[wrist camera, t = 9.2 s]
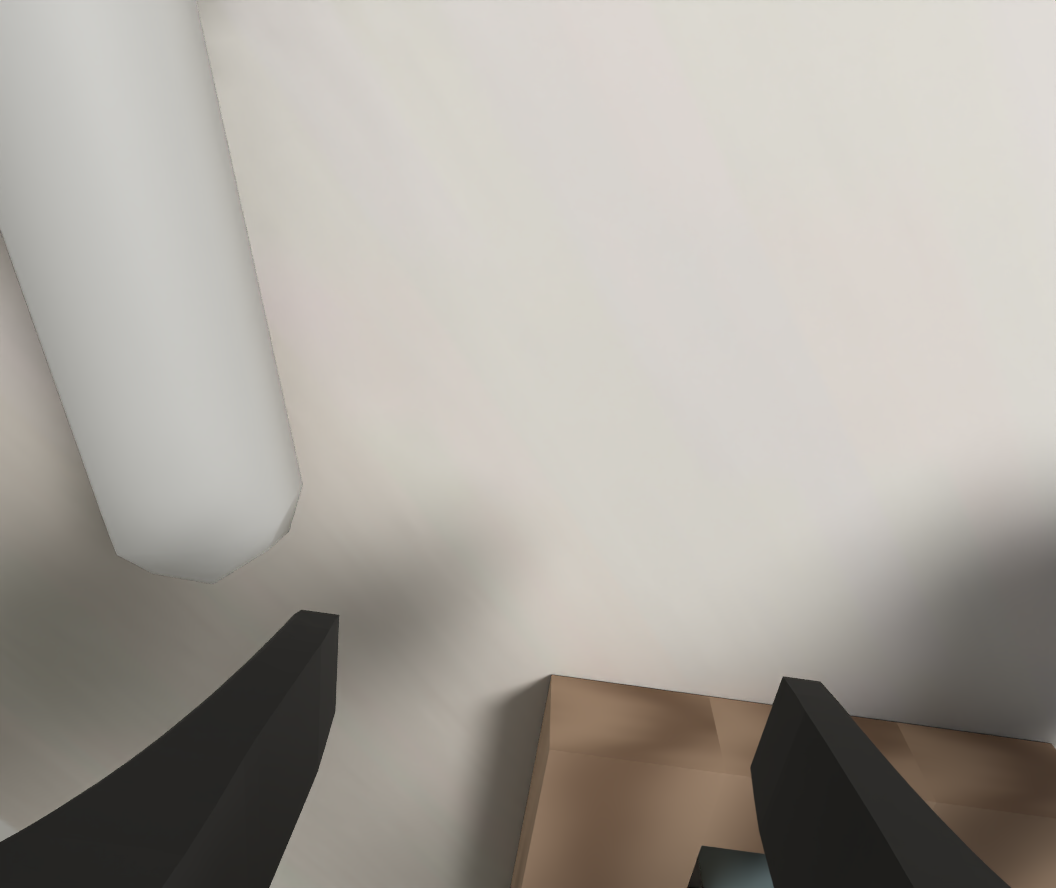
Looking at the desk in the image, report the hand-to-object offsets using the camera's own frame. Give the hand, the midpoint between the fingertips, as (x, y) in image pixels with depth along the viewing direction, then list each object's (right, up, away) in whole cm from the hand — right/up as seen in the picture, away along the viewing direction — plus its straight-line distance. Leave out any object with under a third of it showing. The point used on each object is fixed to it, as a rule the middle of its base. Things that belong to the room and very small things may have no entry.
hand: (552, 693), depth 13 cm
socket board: (+7, -10, +15) cm, 19 cm away
